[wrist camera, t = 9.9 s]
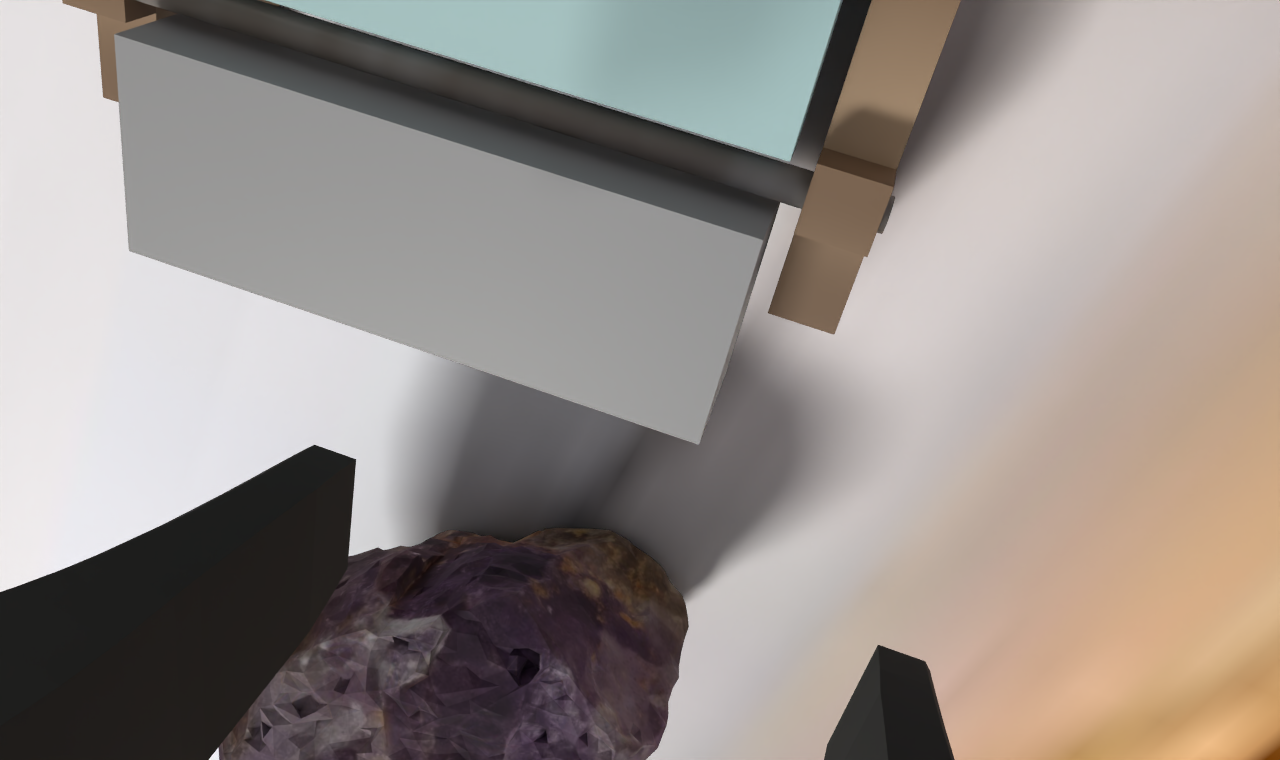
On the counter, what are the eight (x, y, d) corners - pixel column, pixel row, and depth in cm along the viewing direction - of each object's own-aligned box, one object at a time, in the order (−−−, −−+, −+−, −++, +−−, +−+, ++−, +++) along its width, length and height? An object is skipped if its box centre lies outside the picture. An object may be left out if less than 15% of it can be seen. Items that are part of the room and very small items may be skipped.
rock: (750, 593, 28) (461, 363, 27) (732, 851, 21) (324, 550, 19) (502, 804, 33) (242, 620, 31) (412, 1077, 25) (61, 854, 24)
